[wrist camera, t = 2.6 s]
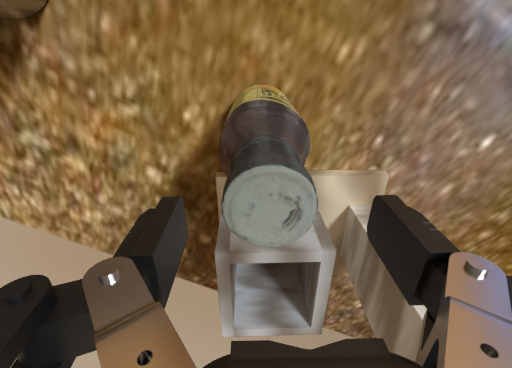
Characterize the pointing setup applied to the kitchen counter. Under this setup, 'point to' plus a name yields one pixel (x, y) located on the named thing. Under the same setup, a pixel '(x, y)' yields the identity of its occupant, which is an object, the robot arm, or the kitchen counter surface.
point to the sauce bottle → (266, 169)
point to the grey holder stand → (314, 269)
